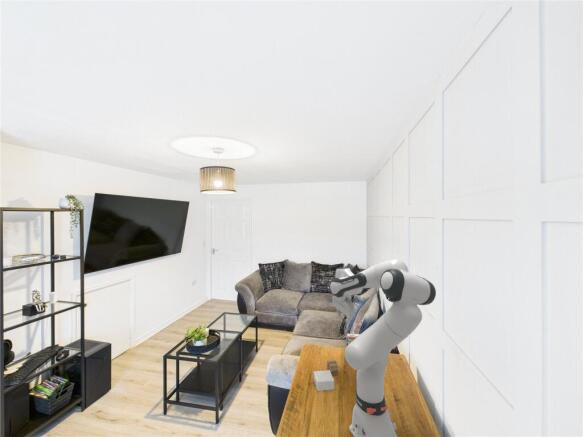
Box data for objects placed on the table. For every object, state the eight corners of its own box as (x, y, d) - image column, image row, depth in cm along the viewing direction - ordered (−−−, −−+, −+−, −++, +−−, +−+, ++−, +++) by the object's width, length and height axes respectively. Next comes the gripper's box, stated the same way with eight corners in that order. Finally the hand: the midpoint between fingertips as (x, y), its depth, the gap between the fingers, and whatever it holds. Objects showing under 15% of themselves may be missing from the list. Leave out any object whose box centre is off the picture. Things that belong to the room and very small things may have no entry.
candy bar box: (347, 363, 152) (346, 336, 153) (346, 358, 157) (345, 333, 158) (365, 364, 151) (365, 337, 152) (363, 359, 156) (363, 333, 156)
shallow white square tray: (334, 390, 129) (334, 380, 129) (317, 391, 128) (317, 381, 128) (329, 379, 138) (329, 370, 138) (313, 380, 137) (313, 371, 137)
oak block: (338, 375, 141) (338, 364, 141) (329, 376, 140) (329, 365, 140) (335, 370, 146) (335, 360, 146) (327, 371, 145) (327, 360, 145)
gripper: (357, 300, 132) (358, 326, 132) (339, 289, 151) (340, 312, 151) (347, 301, 130) (347, 327, 130) (330, 290, 149) (330, 313, 150)
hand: (343, 319), depth 141 cm, fingers open, 8 cm apart
